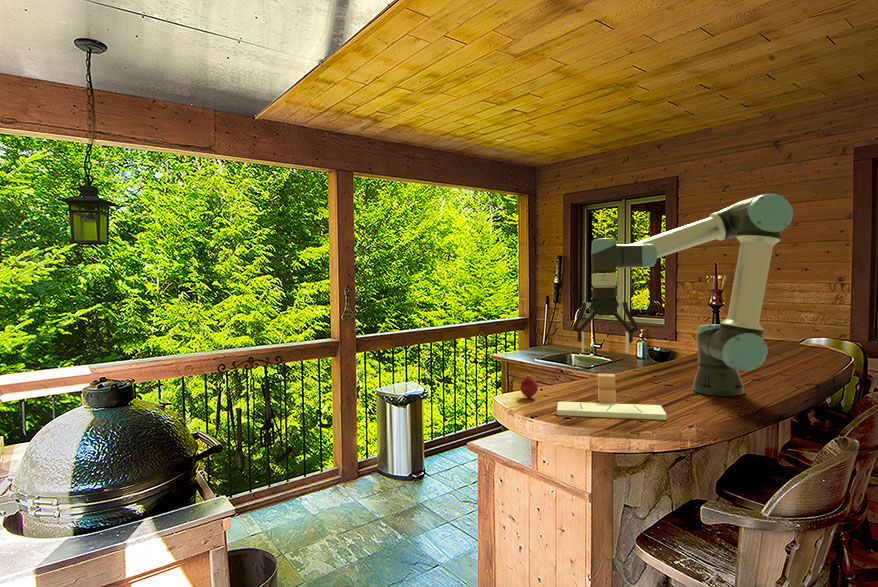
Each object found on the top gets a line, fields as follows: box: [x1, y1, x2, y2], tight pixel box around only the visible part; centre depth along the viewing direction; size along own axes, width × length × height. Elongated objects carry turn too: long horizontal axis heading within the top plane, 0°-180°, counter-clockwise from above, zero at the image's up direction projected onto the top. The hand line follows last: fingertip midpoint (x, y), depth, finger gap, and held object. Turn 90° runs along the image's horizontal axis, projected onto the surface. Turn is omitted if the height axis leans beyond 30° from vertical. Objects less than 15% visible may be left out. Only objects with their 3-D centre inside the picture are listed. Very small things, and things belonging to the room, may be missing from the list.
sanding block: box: [597, 373, 617, 404], centre depth 157 cm, size 5×8×9 cm, turn 164°
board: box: [556, 401, 667, 421], centre depth 146 cm, size 30×10×2 cm, turn 74°
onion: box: [520, 374, 538, 399], centre depth 166 cm, size 6×6×8 cm
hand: (604, 352), depth 157 cm, fingers open, 13 cm apart
